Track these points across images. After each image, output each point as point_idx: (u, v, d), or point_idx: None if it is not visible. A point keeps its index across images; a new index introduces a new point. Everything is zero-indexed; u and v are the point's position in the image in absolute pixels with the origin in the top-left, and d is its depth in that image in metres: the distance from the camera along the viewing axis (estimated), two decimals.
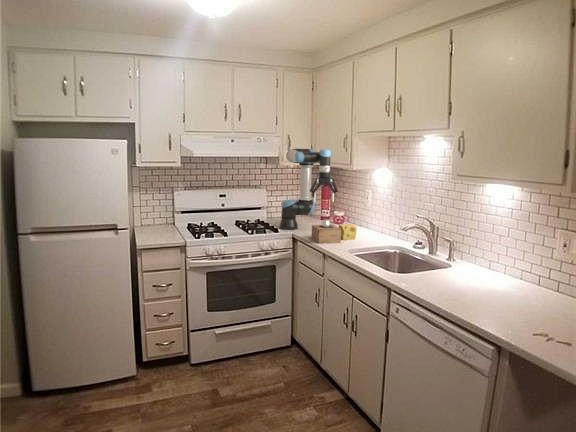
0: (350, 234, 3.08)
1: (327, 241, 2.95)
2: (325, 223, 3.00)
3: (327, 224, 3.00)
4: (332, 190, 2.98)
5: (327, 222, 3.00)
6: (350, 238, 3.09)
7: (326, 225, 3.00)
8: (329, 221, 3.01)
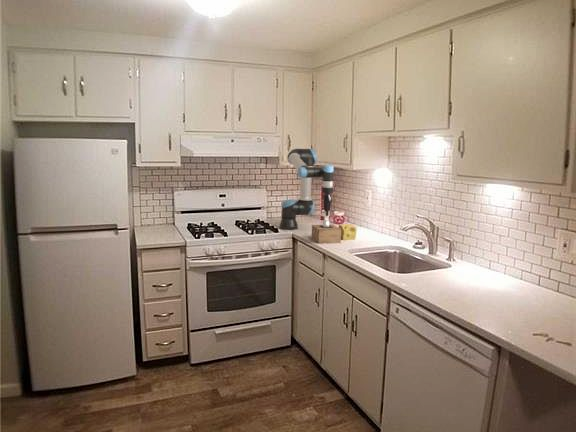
0: (350, 234, 3.08)
1: (327, 241, 2.95)
2: (325, 223, 3.00)
3: (327, 224, 3.00)
4: (326, 207, 3.00)
5: (327, 222, 3.00)
6: (350, 238, 3.09)
7: (326, 225, 3.00)
8: (329, 221, 3.01)
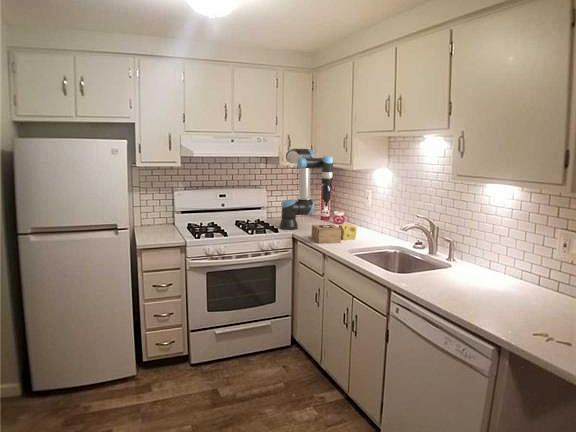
0: (350, 234, 3.08)
1: (327, 241, 2.95)
2: None
3: None
4: None
5: None
6: (350, 238, 3.09)
7: None
8: None
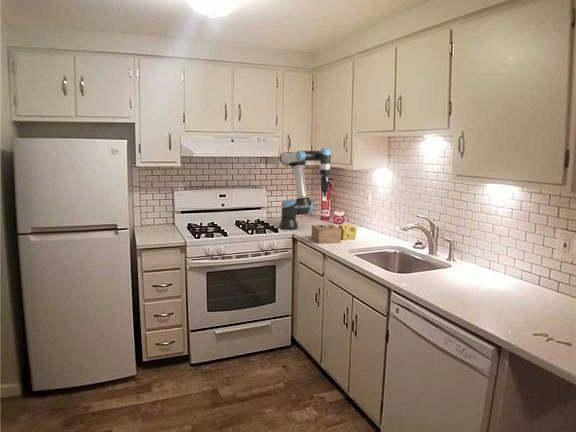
0: (350, 234, 3.08)
1: (327, 241, 2.95)
2: None
3: None
4: None
5: None
6: (350, 238, 3.09)
7: None
8: None
